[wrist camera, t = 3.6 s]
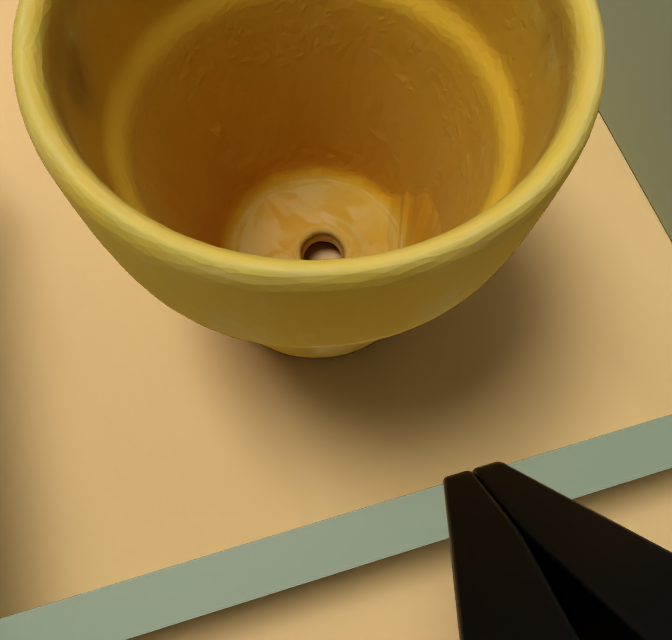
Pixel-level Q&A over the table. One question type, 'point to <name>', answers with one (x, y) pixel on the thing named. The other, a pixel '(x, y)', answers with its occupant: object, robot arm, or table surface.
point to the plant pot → (309, 148)
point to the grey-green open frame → (429, 505)
